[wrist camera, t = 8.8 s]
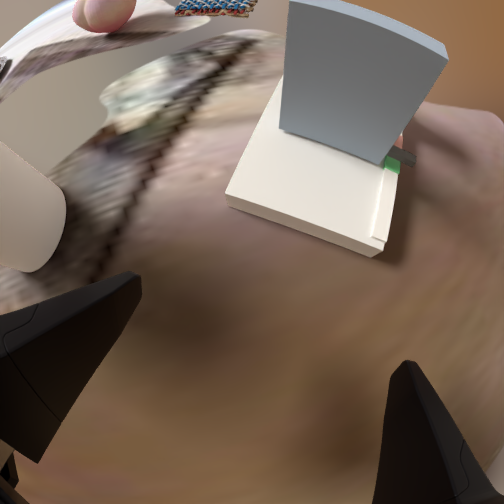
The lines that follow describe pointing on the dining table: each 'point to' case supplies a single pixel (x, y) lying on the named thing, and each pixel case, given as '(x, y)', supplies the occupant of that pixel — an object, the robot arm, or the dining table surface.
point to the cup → (27, 214)
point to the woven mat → (216, 8)
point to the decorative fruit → (102, 14)
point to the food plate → (2, 62)
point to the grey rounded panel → (355, 77)
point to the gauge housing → (314, 185)
